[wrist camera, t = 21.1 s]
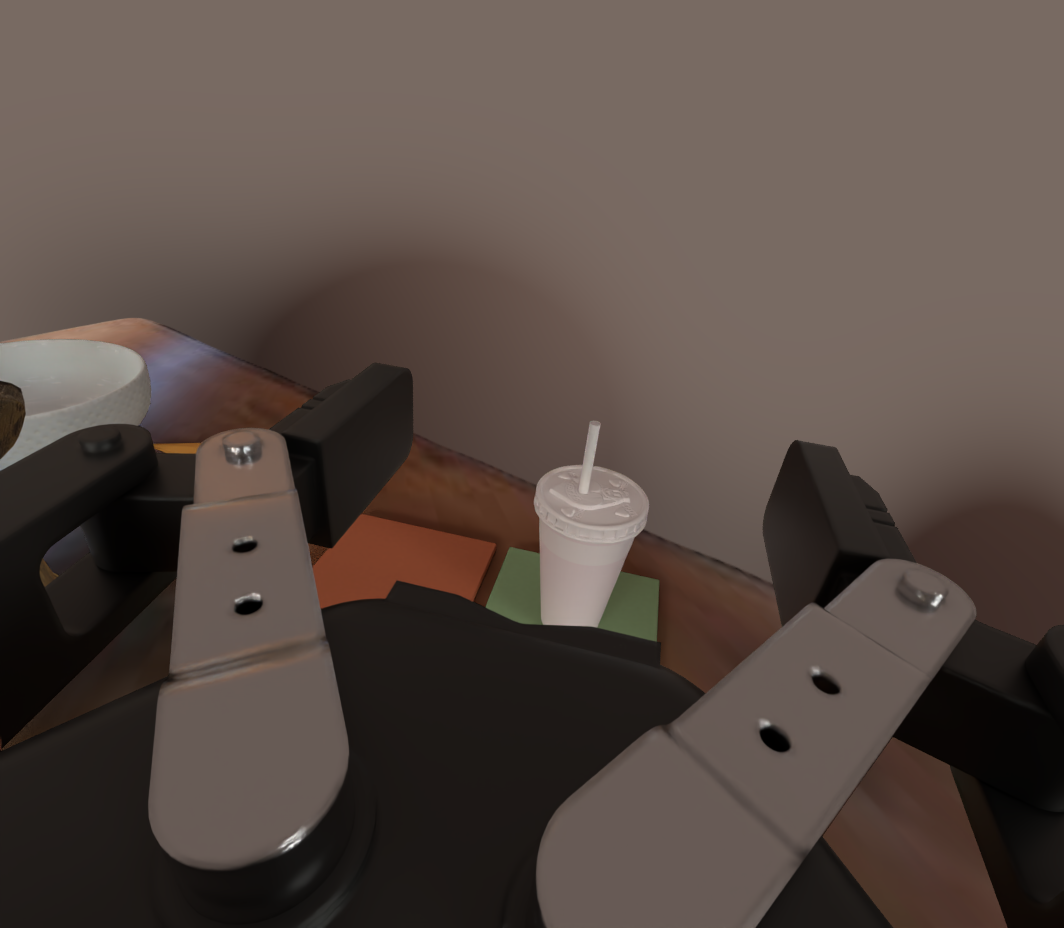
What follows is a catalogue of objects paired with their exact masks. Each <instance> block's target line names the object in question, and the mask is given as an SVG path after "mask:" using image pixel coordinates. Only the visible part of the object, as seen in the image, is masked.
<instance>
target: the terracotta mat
mask: <svg viewBox="0 0 1064 928" xmlns="http://www.w3.org/2000/svg"><path fill="white" fill-rule="evenodd" d="M495 551H496V544H495V543H491V542H486V541H482V540H477V539H473V538H468V537H464V536H459V535H455V534H450V533H446V532H441V531H437V530H432V529H428V528H423V527H419V526H414V525H410V524H405V523H401V522H396V521H392V520H387V519H383V518H378V517H374V516H369V515H364V514H360V516H359V517H358V518H357V519H356V520H355V522H354V523H353V524H352V525H351V526H350V528H349V529H348V530H347V531H346V532H345V534H344V535H343V536H342V537H341V539H340V540H339V541H338V542H337V543H336V545H335V546H334V547H333V548H332V549H331V548H328V549H327V551H326V552H325V553H324V554H323V555H322V557H321V558H320V559H319V560H318V561H317V563H316V564H315V565H314V566H313V567H312V568H313V573H314V578H315V583H316V588H317V593H318V598H319V604H320V609H322V608H325V607H328V606H331V605H335V604H339V603H343V602H348V601H354V600H361V599H376V598H382V599H385V598H386V597H387V595H388V593H389V592H390V590H391V589H392V587H393V585H394V584H395V582H396V581H397V580H398V581H402V582H407V583H411V584H415V585H419V586H423V587H428V588H432V589H436V590H440V591H445V592H449V593H453V594H457V595H460V596H462V597H464V598H466V599H469V600H471V601H474V599H475V596H476V594H477V592H478V590H479V587H480V585H481V583H482V580H483V578H484V576H485V574H486V571H487V569H488V567H489V565H490V562H491V560H492V558H493V555H494V553H495Z"/></svg>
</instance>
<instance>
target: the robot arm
mask: <svg viewBox="0 0 1064 928" xmlns="http://www.w3.org/2000/svg"><path fill="white" fill-rule="evenodd" d="M412 441H413V380H412V374H411V372H410V370H409V369H408V368H403V367H397V366H391V365H386V364H381V363H373V364H371V365H370V366H369V367H367V368H366V369H365V370H363V371H362V372H361V373H359V374H358V375H357V376H355V377H354V378H353V379H352V380H346V381H343V382H340V383H337V384H334V385H331V386H328V387H326V388H325V389H324V390H322V391H321V392H319V393H318V394H317V395H315V396H314V397H313V399H310V400H308V401H307V402H306V403H304V404H303V405H302V407H301V408H297V409H296V410H295V411H293V412H292V413H291V414H289V415H288V416H286V417H285V418H284V419H282V420H281V421H280V422H278V423H277V424H275V425H274V426H273V427H271V428H270V429H269V430H268V429H262V428H240V429H233V430H229V431H225V432H221V433H218V434H216V435H213V436H211V437H210V438H208V439H206V440H205V441H203V442H202V443H201V444H200V445H199V447H198V448H197V451H196V454H191V453H156V452H155V449H154V445H153V442H152V438H151V435H150V433H149V431H148V430H146V429H145V428H143V427H140V426H136V425H131V424H106V425H98V426H93V427H88V428H84V429H81V430H78V431H75V432H72V433H70V434H68V435H66V436H64V437H62V438H60V439H58V440H56V441H54V442H53V443H51V444H49V445H47V446H45V447H43V448H41V449H40V450H38V451H36V452H34V453H32V454H30V455H29V456H27V457H25V458H23V459H21V460H19V461H17V462H16V463H14V464H12V465H10V466H8V467H6V468H5V469H3V470H1V471H0V928H893V927H892V926H891V924H890V923H889V922H888V921H887V919H886V918H885V917H884V915H883V914H882V913H881V912H880V910H879V909H878V908H877V906H876V905H875V904H874V902H873V901H872V900H871V899H870V897H869V896H868V895H867V893H866V892H865V891H864V890H863V888H862V887H861V886H860V884H859V883H858V882H857V881H856V879H855V878H854V877H853V875H852V874H851V873H850V872H849V870H848V869H847V868H846V866H845V865H844V864H843V863H842V861H841V860H840V859H839V857H838V856H837V855H836V853H835V852H834V851H833V850H832V848H831V847H830V846H829V844H828V843H827V842H826V841H825V839H824V838H823V837H822V836H823V835H824V833H825V832H826V831H827V829H828V828H829V826H830V825H831V823H832V822H833V821H834V819H835V818H836V816H837V815H838V814H839V812H840V811H841V809H842V808H843V806H844V805H845V804H846V802H847V801H848V799H849V798H850V797H851V795H852V794H853V792H854V791H855V789H856V788H857V787H858V785H859V784H860V782H861V781H862V780H863V778H864V777H865V775H866V774H867V772H868V771H869V770H870V768H871V767H872V765H873V764H874V763H875V761H876V760H877V758H878V757H879V756H880V754H881V753H882V751H883V750H884V748H885V747H886V746H887V744H888V743H889V741H890V740H891V739H892V737H894V738H896V739H898V740H900V741H902V742H904V743H906V744H909V745H911V746H913V747H915V748H917V749H919V750H921V751H923V752H925V753H927V754H929V755H931V756H933V757H935V758H937V759H939V760H941V761H943V762H945V763H947V764H949V765H950V768H951V772H952V774H953V777H954V780H955V783H956V786H957V788H958V791H959V794H960V797H961V799H962V802H963V805H964V808H965V810H966V813H967V816H968V819H969V822H970V824H971V827H972V830H973V833H974V835H975V838H976V841H977V844H978V846H979V849H980V852H981V855H982V858H983V860H984V863H985V866H986V869H987V871H988V874H989V877H990V880H991V882H992V885H993V888H994V891H995V894H996V896H997V899H998V902H999V905H1000V907H1001V910H1002V913H1003V916H1004V918H1005V921H1006V924H1007V927H1008V928H1064V625H1058V626H1054V627H1052V628H1051V629H1049V630H1048V632H1047V633H1046V634H1045V635H1044V637H1043V638H1042V639H1041V640H1040V642H1039V643H1038V644H1037V645H1035V644H1033V643H1030V642H1028V641H1025V640H1023V639H1020V638H1017V637H1015V636H1013V635H1010V634H1008V633H1005V632H1003V631H1000V630H998V629H995V628H993V627H990V626H988V625H986V624H983V623H981V622H979V621H977V620H975V617H976V608H975V605H974V604H973V602H972V600H971V599H970V597H969V596H968V595H967V594H966V593H965V592H964V591H963V590H962V589H961V588H960V587H959V586H958V585H956V584H955V583H954V582H952V581H951V580H950V579H948V578H947V577H945V576H943V575H942V574H940V573H938V572H936V571H934V570H932V569H930V568H928V567H925V566H923V565H920V564H917V563H916V561H915V559H914V557H913V555H912V553H911V552H910V550H909V548H908V546H907V544H906V543H905V541H904V539H903V537H902V535H901V534H900V532H899V530H898V528H897V527H895V522H894V521H893V519H892V517H891V515H890V514H889V513H887V508H886V506H885V504H884V502H883V501H882V499H881V497H880V495H879V493H878V492H877V491H875V490H874V489H873V488H872V487H871V486H869V485H868V484H867V483H866V482H865V481H864V480H863V479H861V478H860V477H859V476H853V475H850V474H849V472H848V470H847V468H846V466H845V464H844V462H843V460H842V458H841V456H840V454H839V452H838V450H837V448H835V447H831V446H825V445H820V444H814V443H809V442H803V441H798V440H795V441H794V442H793V443H792V444H791V445H790V447H789V449H788V451H787V454H786V456H785V459H784V461H783V464H782V467H781V469H780V472H779V475H778V477H777V480H776V483H775V485H774V488H773V490H772V493H771V496H770V499H769V501H768V504H767V506H766V510H765V514H764V520H763V537H764V542H765V547H766V552H767V556H768V561H769V566H770V571H771V576H772V580H773V585H774V590H775V595H776V600H777V605H778V610H779V614H780V619H781V624H782V628H780V629H779V630H778V631H777V632H776V633H775V634H774V635H772V636H771V637H770V638H769V639H768V640H767V641H766V642H764V643H763V644H762V645H761V646H760V647H759V648H758V649H756V650H755V651H754V652H753V653H752V654H751V655H749V656H748V657H747V658H746V659H745V660H744V661H743V662H741V663H740V664H739V665H738V666H737V667H736V668H735V669H733V670H732V671H731V672H730V673H729V674H728V675H727V676H725V677H724V678H723V679H722V680H721V681H720V682H719V683H717V684H716V685H715V686H714V687H713V688H712V689H711V690H709V691H708V692H707V693H706V694H705V693H704V692H703V691H702V690H701V689H700V688H698V687H697V686H695V685H694V684H693V683H691V682H690V681H688V680H687V679H686V678H684V677H682V676H681V675H679V674H677V673H675V672H674V671H672V670H670V669H668V668H666V667H664V666H662V665H660V652H661V643H660V642H656V641H652V640H648V639H643V638H639V637H635V636H631V635H626V634H622V633H618V632H614V631H609V630H605V629H601V628H597V627H592V626H565V625H538V624H522V623H518V622H516V621H513V620H511V619H509V618H507V617H505V616H502V615H500V614H498V613H496V612H494V611H492V610H490V609H488V608H486V607H483V606H481V605H479V604H477V603H475V602H473V601H471V600H469V599H466V598H464V597H462V596H460V595H457V594H453V593H449V592H445V591H440V590H436V589H432V588H428V587H423V586H419V585H415V584H411V583H407V582H402V581H398V580H397V581H396V582H395V584H394V585H393V587H392V589H391V590H390V592H389V593H388V595H387V597H386V598H385V599H382V598H376V599H361V600H354V601H348V602H343V603H339V604H335V605H331V606H328V607H325V608H322V609H320V604H319V598H318V593H317V588H316V583H315V578H314V573H313V568H312V563H311V558H310V553H309V548H308V543H310V544H314V545H319V546H323V547H327V548H331V549H332V548H333V547H334V546H335V545H336V543H337V542H338V541H339V540H340V539H341V537H342V536H343V535H344V534H345V532H346V531H347V530H348V529H349V528H350V526H351V525H352V524H353V523H354V522H355V520H356V519H357V518H358V517H359V516H360V514H361V513H362V512H363V511H364V510H365V508H366V507H367V506H368V505H369V504H370V502H371V501H372V500H373V499H374V498H375V496H376V495H377V494H378V493H379V492H380V490H381V489H382V488H383V487H384V486H385V484H386V483H387V482H388V481H389V480H390V478H391V477H392V476H393V475H394V474H395V472H396V471H397V470H398V469H399V467H400V466H401V465H402V464H403V463H404V461H405V460H406V459H407V457H408V455H409V452H410V449H411V446H412ZM79 526H81V529H82V531H83V534H84V537H85V539H86V542H87V544H88V547H89V549H90V552H89V553H88V554H86V555H85V556H84V557H83V558H81V559H80V560H79V561H77V562H76V563H75V564H74V565H72V566H71V567H70V568H68V569H67V570H66V571H65V572H63V573H62V574H61V575H59V576H58V577H57V578H56V579H54V580H53V581H52V582H50V583H49V584H48V585H47V586H45V587H44V585H43V583H42V580H41V578H40V565H41V561H42V559H43V557H44V555H45V554H46V552H47V551H48V550H49V548H50V547H51V546H53V545H54V544H55V543H56V542H58V541H59V540H61V539H62V538H63V537H65V536H66V535H67V534H69V533H70V532H72V531H73V530H74V529H76V528H77V527H79ZM176 577H177V582H176V595H175V608H174V621H173V634H172V647H171V660H170V670H169V675H168V677H165V678H163V679H161V680H159V681H157V682H154V683H152V684H150V685H148V686H145V687H143V688H141V689H139V690H136V691H134V692H132V693H130V694H128V695H125V696H123V697H121V698H119V699H116V700H114V701H112V702H110V703H108V704H105V705H103V706H101V707H99V708H96V709H94V710H92V711H90V712H87V713H85V714H83V715H81V716H79V717H76V718H74V719H72V720H70V721H67V722H65V723H63V724H61V725H59V726H56V727H54V728H52V729H50V730H47V731H45V732H43V733H41V734H38V735H36V736H34V737H32V738H30V739H27V740H25V741H23V742H21V743H18V744H16V745H14V746H12V747H10V748H7V749H5V750H3V751H1V749H2V748H3V747H4V746H5V745H6V744H7V743H8V742H9V741H10V740H11V739H12V738H13V737H14V736H15V735H16V734H17V733H18V732H19V731H20V730H21V729H22V728H23V727H24V726H25V725H26V724H27V723H28V722H29V721H30V720H31V719H32V718H33V717H34V716H36V715H37V714H38V713H39V712H40V711H41V710H42V709H43V708H44V707H45V706H46V705H47V704H48V703H49V702H50V701H51V700H52V699H53V698H54V697H55V696H56V695H57V694H58V693H59V692H60V691H61V690H62V689H63V688H64V687H65V686H66V685H67V684H68V683H69V682H70V681H71V680H72V679H73V678H74V677H75V676H76V675H77V674H78V673H79V672H80V671H81V670H83V669H84V668H85V667H86V666H87V665H88V664H89V663H90V662H91V661H92V660H93V659H94V658H95V657H96V656H97V655H98V654H99V653H100V652H101V651H102V650H103V649H104V648H105V647H106V646H107V645H108V644H109V643H110V642H111V641H112V640H113V639H114V638H115V637H116V636H117V635H118V634H119V633H120V632H121V631H122V630H123V629H124V628H125V627H126V626H127V625H128V624H129V623H131V622H132V621H133V620H134V619H135V618H136V617H137V616H138V615H139V614H140V613H141V612H142V611H143V610H144V609H145V608H146V607H147V606H148V605H149V604H150V603H151V602H152V601H153V600H154V599H155V598H156V597H157V596H158V595H159V594H160V593H161V592H162V591H163V590H164V589H165V588H166V587H167V586H168V585H169V584H170V583H171V582H172V581H173V580H174V579H175V578H176Z"/></svg>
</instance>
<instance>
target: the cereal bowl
mask: <svg viewBox="0 0 1064 928" xmlns="http://www.w3.org/2000/svg"><path fill="white" fill-rule="evenodd" d="M0 381H4V382H9V383H12V384H14V385H16V386H17V387H19V388H21V391H22V395H23V398H24V402H25V411H26V415H25V419H24V423H23V427H22V429H21V432H20V435H19V437H18V439H17V441H16V443H15V444H14V446H13V447H12V448H11V449H10V450H9V451H8V452H7V453H6V454H5V456H4V457H2V458H1V459H0V471H1V470H3V469H5V468H6V467H8V466H10V465H12V464H14V463H16V462H17V461H19V460H21V459H23V458H25V457H27V456H29V455H30V454H32V453H34V452H36V451H38V450H40V449H41V448H43V447H45V446H47V445H49V444H51V443H53V442H54V441H56V440H58V439H60V438H62V437H64V436H66V435H68V434H70V433H72V432H75V431H78V430H81V429H84V428H88V427H93V426H98V425H106V424H131V425H136V426H138V425H139V424H141V422H142V420H143V418H144V417H145V416H146V413H147V412H148V408H149V405H150V398H151V385H150V378H149V374H148V369H147V365H146V363H145V361H144V359H143V358H142V357H141V356H140V354H138V353H137V352H135V351H133V350H132V349H129V348H126V347H123V346H120V345H116V344H112V343H107V342H101V341H92V340H79V339H45V340H28V341H17V342H8V343H1V344H0Z"/></svg>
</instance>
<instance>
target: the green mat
mask: <svg viewBox="0 0 1064 928" xmlns="http://www.w3.org/2000/svg"><path fill="white" fill-rule="evenodd" d="M658 601H659V580H657V579H652V578H648V577H643V576H639V575H634V574H630V573H625V572H621V571H620V574H619V576H618V579H617V581H616V583H615V586H614V588H613V591H612V593H611V596H610V598H609V600H608V603H607V605H606V608H605V610H604V613H603V615H602V617H601V620H600V622H599V625H598V627H597V628H601V629H605V630H609V631H614V632H618V633H622V634H626V635H631V636H635V637H639V638H643V639H648V640H652V641H656V642H657V623H658ZM486 608H488V609H490V610H492V611H494V612H496V613H498V614H500V615H502V616H505V617H507V618H509V619H511V620H513V621H516V622H518V623H522V624H538V625H543V623H542V620H541V593H540V553H535V552H531V551H526V550H522V549H517V548H513V547H510V548H509V550H508V553H507V555H506V558H505V560H504V562H503V565H502V567H501V570H500V572H499V575H498V577H497V580H496V582H495V585H494V587H493V589H492V592H491V594H490V597H489V599H488V602H487V604H486Z"/></svg>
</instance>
